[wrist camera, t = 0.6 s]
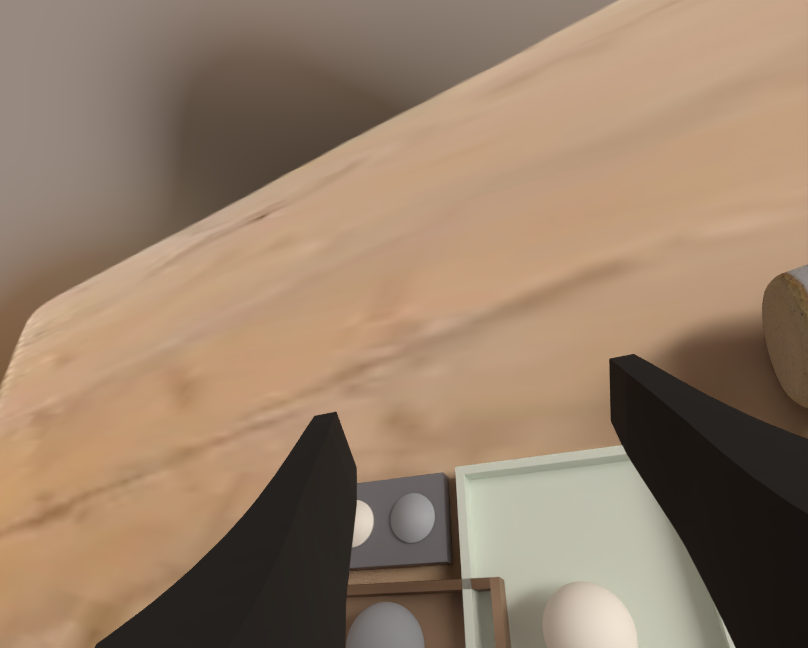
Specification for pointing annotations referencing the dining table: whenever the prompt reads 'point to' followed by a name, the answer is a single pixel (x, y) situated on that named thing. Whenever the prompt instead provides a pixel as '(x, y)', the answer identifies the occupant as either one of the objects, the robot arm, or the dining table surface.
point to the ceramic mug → (788, 331)
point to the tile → (402, 523)
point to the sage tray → (577, 548)
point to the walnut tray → (435, 607)
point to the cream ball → (587, 619)
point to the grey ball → (385, 628)
